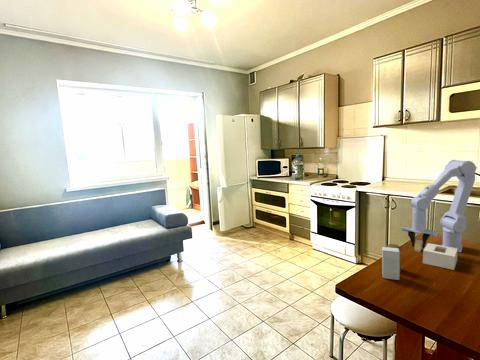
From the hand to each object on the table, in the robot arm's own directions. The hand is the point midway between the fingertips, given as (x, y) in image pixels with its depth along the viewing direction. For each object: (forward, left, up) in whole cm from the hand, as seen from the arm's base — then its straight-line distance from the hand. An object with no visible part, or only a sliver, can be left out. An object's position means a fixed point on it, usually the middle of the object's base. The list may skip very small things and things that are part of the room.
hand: (418, 247), depth 133 cm
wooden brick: (0, 0, -2) cm, 2 cm away
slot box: (+10, +10, -1) cm, 14 cm away
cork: (+29, -4, -2) cm, 29 cm away
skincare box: (+37, -3, -2) cm, 37 cm away
